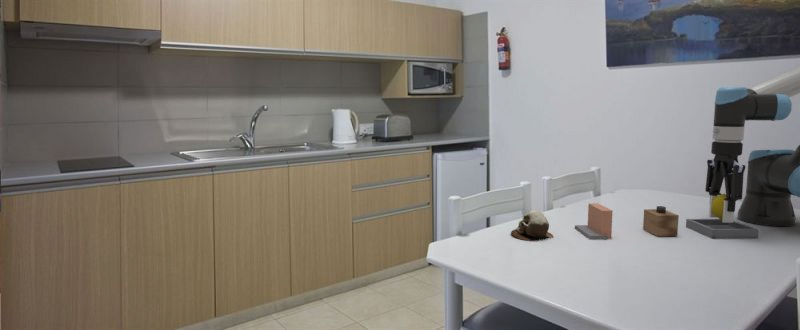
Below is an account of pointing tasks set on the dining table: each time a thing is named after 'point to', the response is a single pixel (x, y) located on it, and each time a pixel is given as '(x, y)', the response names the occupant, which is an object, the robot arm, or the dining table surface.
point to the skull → (533, 227)
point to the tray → (721, 228)
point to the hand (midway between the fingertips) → (720, 219)
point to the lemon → (718, 206)
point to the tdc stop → (597, 222)
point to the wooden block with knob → (660, 222)
